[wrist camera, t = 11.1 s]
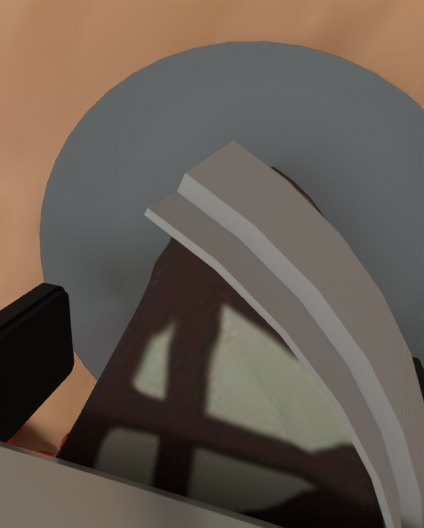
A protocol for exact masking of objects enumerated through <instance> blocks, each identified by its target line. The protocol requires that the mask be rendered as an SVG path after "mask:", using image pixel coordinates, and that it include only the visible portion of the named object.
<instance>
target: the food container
mask: <svg viewBox="0 0 424 528" xmlns="http://www.w3.org/2000/svg"><path fill="white" fill-rule="evenodd" d="M144 215H145V216H146V217H147V218H149V219H150V220H151V221H153V222H154V223H155V224H157V225H158V226H159V227H160V228H162V229H163V230H164V231H166V232H167V233H168V234H169V235H171V236H172V237H171V239H170V241H169V243H168V245H167V246H166V248H165V249H164V251H163V252H162V253H161V255H160V256H159V258H158V259H157V261H156V262H155V264H154V268H153V271H152V274H151V277H150V281H149V284H148V286H147V288H146V290H145V292H144V294H143V296H142V298H141V301H140V303H139V305H138V307H137V309H136V311H135V313H134V315H133V317H132V318H131V320H130V322H129V324H128V326H127V328H126V330H125V331H124V333H123V335H122V337H121V339H120V341H119V343H118V344H117V346H116V348H115V350H114V352H113V354H112V356H111V357H110V359H109V361H108V363H107V365H106V367H105V369H104V370H103V372H102V374H101V376H100V378H99V380H98V382H97V383H96V385H95V387H94V389H93V391H92V393H91V395H90V396H89V398H88V400H87V402H86V404H85V406H84V408H83V409H82V411H81V413H80V415H79V417H78V419H77V420H76V422H75V424H74V426H73V427H72V429H71V431H70V433H69V434H68V436H67V438H66V440H65V441H64V443H63V445H62V447H61V449H60V450H59V452H58V454H57V456H56V457H55V458H58V459H62V460H65V461H68V462H72V463H75V464H78V465H82V466H85V467H88V468H92V469H95V470H98V471H102V472H105V473H108V474H112V475H115V476H118V477H122V478H125V479H128V480H132V481H135V482H138V483H141V484H145V485H148V486H151V487H155V488H158V489H161V490H165V491H168V492H171V493H174V494H178V495H181V496H184V497H187V498H191V499H194V500H197V501H200V502H204V503H207V504H210V505H213V506H217V507H220V508H223V509H226V510H230V511H233V512H236V513H239V514H243V515H246V516H249V517H252V518H256V519H259V520H262V521H265V522H268V523H272V524H275V525H278V526H281V527H284V528H424V401H423V397H422V393H421V390H420V386H419V382H418V378H417V374H416V371H415V367H414V363H413V359H412V355H411V352H410V350H409V348H408V346H407V344H406V342H405V340H404V338H403V336H402V334H401V332H400V329H399V327H398V325H397V323H396V321H395V319H394V317H393V315H392V313H391V311H390V308H389V306H388V304H387V302H386V300H385V298H384V296H383V294H382V292H381V291H380V289H379V288H378V286H377V285H376V284H375V282H374V281H373V279H372V278H371V277H370V275H369V274H368V272H367V271H366V270H365V268H364V267H363V265H362V264H361V262H360V261H359V260H358V258H357V257H356V255H355V254H354V253H353V251H352V250H351V248H350V247H349V246H348V244H347V243H346V241H345V240H344V238H343V237H342V236H341V234H340V233H339V232H338V231H337V230H336V229H335V228H334V227H333V226H332V225H331V224H330V223H329V222H328V221H327V220H326V219H325V217H324V216H323V214H322V213H321V212H320V210H319V209H318V207H317V206H316V205H315V203H314V202H313V200H312V199H311V198H310V197H309V196H308V195H307V194H306V193H305V192H304V191H303V190H302V189H301V188H300V187H299V186H298V185H297V184H296V183H295V182H294V181H293V180H292V179H290V178H289V177H287V176H286V175H285V174H283V173H282V172H281V171H279V170H278V169H276V168H275V167H274V166H273V167H269V166H267V165H266V164H265V163H263V162H262V161H261V160H259V159H258V158H256V157H255V156H254V155H252V154H251V153H250V152H248V151H247V150H246V149H244V148H243V147H242V146H240V145H239V144H238V143H236V142H235V141H234V140H233V141H231V142H230V143H229V144H227V145H226V146H224V147H223V148H221V149H220V150H218V151H217V152H215V153H214V154H213V155H211V156H210V157H208V158H207V159H205V160H204V161H202V162H201V163H200V164H198V165H197V166H195V167H194V168H192V169H191V170H189V171H188V172H186V173H185V175H184V177H183V179H182V182H181V184H180V186H179V188H178V190H177V192H175V193H173V194H172V195H170V196H168V197H166V198H164V199H163V200H161V201H159V202H157V203H155V204H153V205H152V206H150V207H148V208H147V210H146V212H145V214H144Z"/></svg>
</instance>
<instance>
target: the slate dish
mask: <svg viewBox="0 0 424 528" xmlns="http://www.w3.org/2000/svg"><path fill="white" fill-rule="evenodd" d="M233 140H234V141H235V142H236V143H238V144H239V145H240V146H242V147H243V148H244V149H246V150H247V151H248V152H250V153H251V154H252V155H254V156H255V157H256V158H258V159H259V160H261V161H262V162H263V163H265V164H266V165H267V166H269V167H273V166H274V167H275V168H276V169H278V170H279V171H281V172H282V173H283V174H285V175H286V176H287V177H289V178H290V179H292V180H293V181H294V182H295V183H296V184H297V185H298V186H299V187H300V188H301V189H302V190H303V191H304V192H305V193H306V194H307V195H308V196H309V197H310V198H311V199H312V200H313V202H314V203H315V205H316V206H317V207H318V209H319V210H320V212H321V213H322V214H323V216H324V217H325V219H326V220H327V221H328V222H329V223H330V224H331V225H332V226H333V227H334V228H335V229H336V230H337V231H338V232H339V233H340V234H341V236H342V237H343V238H344V240H345V241H346V243H347V244H348V246H349V247H350V248H351V250H352V251H353V253H354V254H355V255H356V257H357V258H358V260H359V261H360V262H361V264H362V265H363V267H364V268H365V270H366V271H367V272H368V274H369V275H370V277H371V278H372V279H373V281H374V282H375V284H376V285H377V286H378V288H379V289H380V291H381V292H382V294H383V296H384V298H385V300H386V302H387V304H388V306H389V308H390V311H391V313H392V315H393V317H394V319H395V321H396V323H397V325H398V327H399V329H400V332H401V334H402V336H403V338H404V340H405V342H406V344H407V346H408V348H409V350H410V352H411V355H412V357H415V358H419V359H420V361H421V364H422V366H423V369H424V109H423V108H422V107H420V106H419V105H418V104H417V103H416V102H415V101H414V100H413V99H412V98H411V97H410V96H408V95H407V94H405V93H404V92H402V91H401V90H399V89H398V88H396V87H395V86H393V85H392V84H390V83H389V82H387V81H386V80H384V79H383V78H381V77H380V76H378V75H377V74H375V73H373V72H371V71H369V70H367V69H364V68H362V67H360V66H358V65H356V64H354V63H351V62H349V61H347V60H345V59H343V58H341V57H337V56H334V55H330V54H327V53H324V52H320V51H317V50H313V49H310V48H306V47H303V46H295V45H288V44H280V43H272V42H227V43H221V44H216V45H210V46H204V47H198V48H193V49H190V50H187V51H184V52H181V53H178V54H175V55H172V56H169V57H166V58H163V59H160V60H158V61H156V62H154V63H153V64H151V65H149V66H147V67H145V68H143V69H141V70H139V71H137V72H135V73H133V74H131V75H130V76H129V77H127V78H126V79H125V80H123V81H122V82H120V83H119V84H118V85H116V86H115V87H114V88H112V89H111V90H109V91H108V92H107V93H106V94H105V95H104V96H103V97H102V98H101V99H100V100H99V101H98V102H97V103H96V104H95V105H94V106H93V107H92V108H91V109H89V110H88V111H87V112H86V114H85V115H84V116H83V118H82V119H81V120H80V122H79V123H78V124H77V126H76V127H75V128H74V130H73V131H72V132H71V134H70V135H69V137H68V138H67V140H66V142H65V144H64V146H63V148H62V150H61V151H60V153H59V155H58V157H57V159H56V161H55V164H54V167H53V169H52V172H51V175H50V178H49V180H48V183H47V187H46V191H45V196H44V200H43V205H42V210H41V223H40V254H41V263H42V269H43V275H44V281H45V283H49V284H54V285H59V286H62V287H63V288H64V290H65V292H67V293H68V295H69V305H70V317H71V329H72V341H73V350H74V351H75V353H76V354H77V355H78V357H79V358H80V360H81V361H82V363H83V364H84V366H85V367H86V368H87V369H88V370H89V372H90V373H91V374H92V375H93V376H94V377H95V379H96V380H97V381H98V380H99V378H100V376H101V374H102V372H103V370H104V369H105V367H106V365H107V363H108V361H109V359H110V357H111V356H112V354H113V352H114V350H115V348H116V346H117V344H118V343H119V341H120V339H121V337H122V335H123V333H124V331H125V330H126V328H127V326H128V324H129V322H130V320H131V318H132V317H133V315H134V313H135V311H136V309H137V307H138V305H139V303H140V301H141V298H142V296H143V294H144V292H145V290H146V288H147V286H148V284H149V281H150V277H151V274H152V271H153V268H154V264H155V262H156V261H157V259H158V258H159V256H160V255H161V253H162V252H163V251H164V249H165V248H166V246H167V245H168V243H169V241H170V239H171V237H172V236H171V235H169V234H168V233H167V232H166V231H164V230H163V229H162V228H160V227H159V226H158V225H157V224H155V223H154V222H153V221H151V220H150V219H149V218H147V217H146V216H145V215H144V214H145V212H146V210H147V208H148V207H150V206H152V205H153V204H155V203H157V202H159V201H161V200H163V199H164V198H166V197H168V196H170V195H172V194H173V193H175V192H177V190H178V188H179V186H180V184H181V182H182V179H183V177H184V175H185V173H186V172H188V171H189V170H191V169H192V168H194V167H195V166H197V165H198V164H200V163H201V162H202V161H204V160H205V159H207V158H208V157H210V156H211V155H213V154H214V153H215V152H217V151H218V150H220V149H221V148H223V147H224V146H226V145H227V144H229V143H230V142H231V141H233Z"/></svg>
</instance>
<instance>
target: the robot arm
mask: <svg viewBox="0 0 424 528" xmlns="http://www.w3.org/2000/svg"><path fill="white" fill-rule="evenodd" d="M412 359H413V363H414V367H415V371H416V374H417V378H418V382H419V386H420V390H421V393H422V397H423V401H424V369H423V366H422V364H421V361H420V359H419V358H415V357H412ZM73 367H74V354H73V341H72V329H71V317H70V305H69V295H68V293H67V292H65V290H64V288H63V287H62V286H59V285H54V284H49V283H42V284H40V285H39V286H37V287H35V288H34V289H32V290H31V291H29V292H28V293H26V294H25V295H23V296H22V297H20V298H19V299H17V300H16V301H14V302H13V303H11V304H10V305H8V306H7V307H5V308H4V309H2V310H1V311H0V528H284V527H281V526H278V525H275V524H272V523H268V522H265V521H262V520H259V519H256V518H252V517H249V516H246V515H243V514H239V513H236V512H233V511H230V510H226V509H223V508H220V507H217V506H213V505H210V504H207V503H204V502H200V501H197V500H194V499H191V498H187V497H184V496H181V495H178V494H174V493H171V492H168V491H165V490H161V489H158V488H155V487H151V486H148V485H145V484H141V483H138V482H135V481H132V480H128V479H125V478H122V477H118V476H115V475H112V474H108V473H105V472H102V471H98V470H95V469H92V468H88V467H85V466H82V465H78V464H75V463H72V462H68V461H65V460H62V459H58V458H55V457H52V456H48V455H45V454H42V453H38V452H35V451H31V450H28V449H25V448H21V447H18V446H14V445H11V444H8V443H7V442H8V441H9V440H10V439H11V438H12V436H13V435H14V434H15V433H16V432H17V431H18V430H19V429H20V428H21V427H22V426H23V424H24V423H25V422H26V421H27V420H28V419H29V418H30V417H31V416H32V415H33V414H34V412H35V411H36V410H37V409H38V408H39V407H40V406H41V405H42V404H43V403H44V402H45V400H46V399H47V398H48V397H49V396H50V395H51V394H52V393H53V392H54V391H55V390H56V389H57V387H58V386H59V385H60V384H61V383H62V382H63V381H64V380H65V379H66V378H67V377H68V375H69V374H70V373H71V371H72V369H73Z"/></svg>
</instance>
